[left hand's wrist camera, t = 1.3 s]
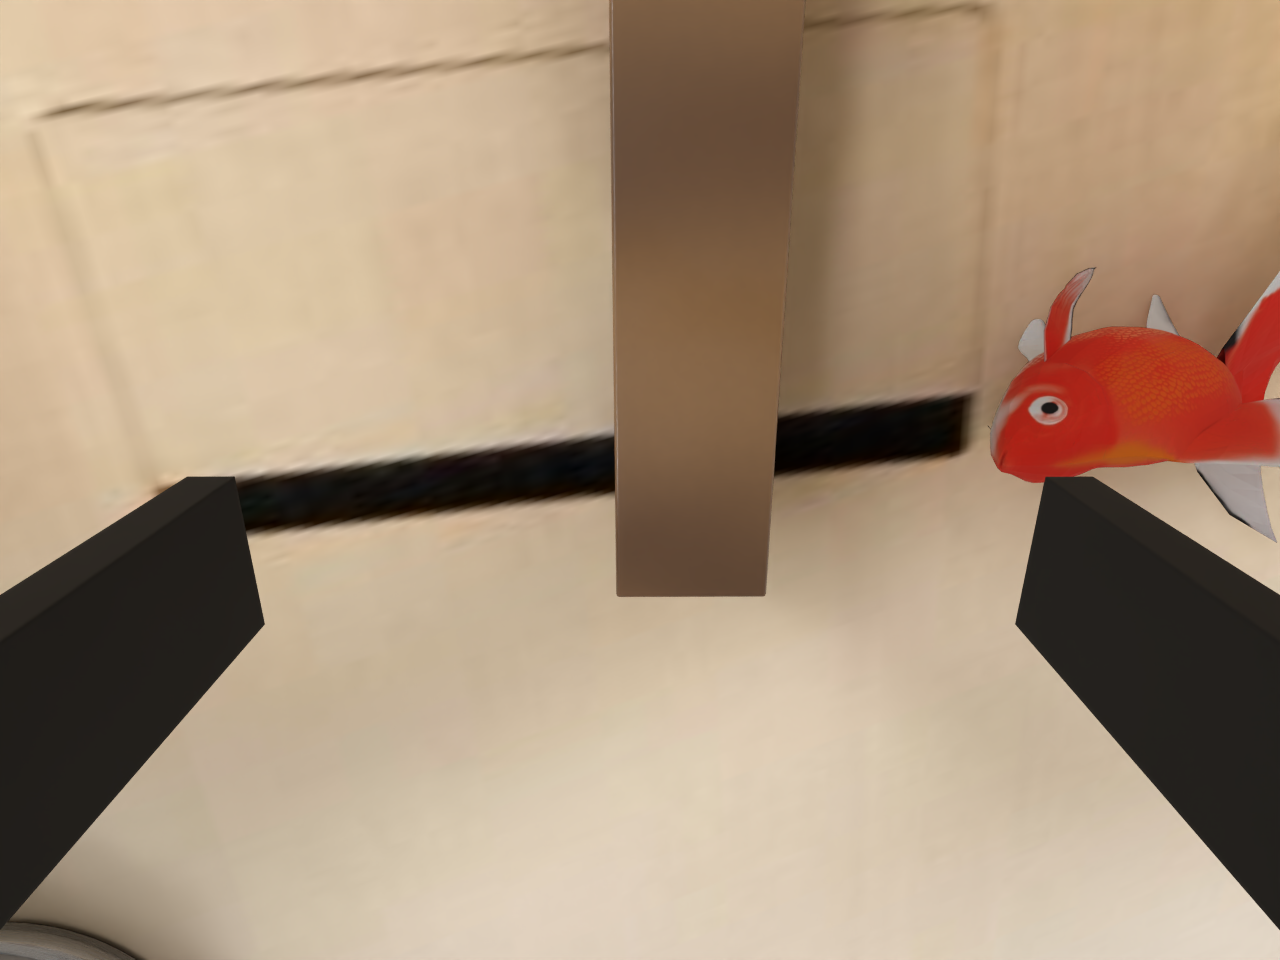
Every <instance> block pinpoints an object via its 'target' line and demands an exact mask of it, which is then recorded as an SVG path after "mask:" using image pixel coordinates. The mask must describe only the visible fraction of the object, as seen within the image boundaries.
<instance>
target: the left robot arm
mask: <svg viewBox="0 0 1280 960" xmlns="http://www.w3.org/2000/svg"><path fill="white" fill-rule="evenodd" d="M264 625H265V623H264V618H263V613H262V608H261V603H260V599H259V594H258V589H257V584H256V579H255V574H254V569H253V564H252V559H251V555H250V550H249V545H248V540H247V535H246V530H245V525H244V520H243V515H242V511H241V506H240V501H239V496H238V491H237V486H236V481H235V477H186V478H184V479H183V480H181V481H180V482H178V483H177V484H175V485H173V486H172V487H170V488H169V489H167V490H165V491H164V492H162V493H161V494H159V495H158V496H156V497H154V498H153V499H151V500H150V501H148V502H147V503H145V504H143V505H142V506H140V507H139V508H137V509H135V510H134V511H132V512H131V513H129V514H128V515H126V516H124V517H123V518H121V519H120V520H118V521H116V522H115V523H113V524H112V525H110V526H109V527H107V528H105V529H104V530H102V531H101V532H99V533H98V534H96V535H94V536H93V537H91V538H90V539H88V540H86V541H85V542H83V543H82V544H80V545H79V546H77V547H75V548H74V549H72V550H71V551H69V552H67V553H66V554H64V555H63V556H61V557H60V558H58V559H56V560H55V561H53V562H52V563H50V564H49V565H47V566H45V567H44V568H42V569H41V570H39V571H37V572H36V573H34V574H33V575H31V576H30V577H28V578H26V579H25V580H23V581H22V582H20V583H18V584H17V585H15V586H14V587H12V588H11V589H9V590H7V591H6V592H4V593H3V594H1V595H0V960H135V959H134V958H132V957H131V956H129V955H127V954H125V953H124V952H122V951H120V950H118V949H116V948H114V947H112V946H110V945H108V944H106V943H103V942H101V941H99V940H96V939H93V938H91V937H88V936H85V935H82V934H79V933H76V932H72V931H68V930H65V929H60V928H56V927H50V926H45V925H37V924H29V923H12V922H11V923H7V922H8V921H9V919H10V918H11V917H12V916H13V915H14V914H15V912H16V911H17V910H18V909H19V908H20V907H21V905H22V904H23V903H24V902H25V901H26V900H27V899H28V897H29V896H30V895H31V894H32V893H33V892H34V890H35V889H36V888H37V887H38V886H39V885H40V884H41V882H42V881H43V880H44V879H45V878H46V877H47V875H48V874H49V873H50V872H51V871H52V870H53V868H54V867H55V866H56V865H57V864H58V863H59V862H60V860H61V859H62V858H63V857H64V856H65V855H66V853H67V852H68V851H69V850H70V849H71V848H72V847H73V845H74V844H75V843H76V842H77V841H78V840H79V838H80V837H81V836H82V835H83V834H84V833H85V831H86V830H87V829H88V828H89V827H90V826H91V825H92V823H93V822H94V821H95V820H96V819H97V818H98V816H99V815H100V814H101V813H102V812H103V811H104V810H105V808H106V807H107V806H108V805H109V804H110V803H111V801H112V800H113V799H114V798H115V797H116V796H117V794H118V793H119V792H120V791H121V790H122V789H123V788H124V786H125V785H126V784H127V783H128V782H129V781H130V779H131V778H132V777H133V776H134V775H135V774H136V773H137V771H138V770H139V769H140V768H141V767H142V766H143V764H144V763H145V762H146V761H147V760H148V759H149V757H150V756H151V755H152V754H153V753H154V752H155V751H156V749H157V748H158V747H159V746H160V745H161V744H162V742H163V741H164V740H165V739H166V738H167V737H168V736H169V734H170V733H171V732H172V731H173V730H174V729H175V727H176V726H177V725H178V724H179V723H180V722H181V720H182V719H183V718H184V717H185V716H186V715H187V714H188V712H189V711H190V710H191V709H192V708H193V707H194V705H195V704H196V703H197V702H198V701H199V700H200V699H201V697H202V696H203V695H204V694H205V693H206V692H207V690H208V689H209V688H210V687H211V686H212V685H213V683H214V682H215V681H216V680H217V679H218V678H219V677H220V675H221V674H222V673H223V672H224V671H225V670H226V668H227V667H228V666H229V665H230V664H231V663H232V662H233V660H234V659H235V658H236V657H237V656H238V655H239V653H240V652H241V651H242V650H243V649H244V648H245V646H246V645H247V644H248V643H249V642H250V641H251V640H252V638H253V637H254V636H255V635H256V634H257V633H258V631H259V630H260V629H261V628H262V627H263V626H264ZM1015 625H1016V626H1017V627H1018V628H1019V629H1020V630H1021V631H1022V633H1023V634H1024V635H1025V636H1026V637H1027V638H1028V640H1029V641H1030V642H1031V643H1032V644H1033V645H1034V646H1035V648H1036V649H1037V650H1038V651H1039V652H1040V653H1041V655H1042V656H1043V657H1044V658H1045V659H1046V660H1047V662H1048V663H1049V664H1050V665H1051V666H1052V667H1053V668H1054V670H1055V671H1056V672H1057V673H1058V674H1059V675H1060V677H1061V678H1062V679H1063V680H1064V681H1065V682H1066V683H1067V685H1068V686H1069V687H1070V688H1071V689H1072V690H1073V692H1074V693H1075V694H1076V695H1077V696H1078V697H1079V699H1080V700H1081V701H1082V702H1083V703H1084V704H1085V705H1086V707H1087V708H1088V709H1089V710H1090V711H1091V712H1092V714H1093V715H1094V716H1095V717H1096V718H1097V719H1098V720H1099V722H1100V723H1101V724H1102V725H1103V726H1104V727H1105V729H1106V730H1107V731H1108V732H1109V733H1110V734H1111V736H1112V737H1113V738H1114V739H1115V740H1116V741H1117V742H1118V744H1119V745H1120V746H1121V747H1122V748H1123V749H1124V751H1125V752H1126V753H1127V754H1128V755H1129V756H1130V757H1131V759H1132V760H1133V761H1134V762H1135V763H1136V764H1137V766H1138V767H1139V768H1140V769H1141V770H1142V771H1143V773H1144V774H1145V775H1146V776H1147V777H1148V778H1149V779H1150V781H1151V782H1152V783H1153V784H1154V785H1155V786H1156V788H1157V789H1158V790H1159V791H1160V792H1161V793H1162V794H1163V796H1164V797H1165V798H1166V799H1167V800H1168V801H1169V803H1170V804H1171V805H1172V806H1173V807H1174V808H1175V810H1176V811H1177V812H1178V813H1179V814H1180V815H1181V816H1182V818H1183V819H1184V820H1185V821H1186V822H1187V823H1188V825H1189V826H1190V827H1191V828H1192V829H1193V830H1194V831H1195V833H1196V834H1197V835H1198V836H1199V837H1200V838H1201V840H1202V841H1203V842H1204V843H1205V844H1206V845H1207V847H1208V848H1209V849H1210V850H1211V851H1212V852H1213V853H1214V855H1215V856H1216V857H1217V858H1218V859H1219V860H1220V862H1221V863H1222V864H1223V865H1224V866H1225V867H1226V868H1227V870H1228V871H1229V872H1230V873H1231V874H1232V875H1233V877H1234V878H1235V879H1236V880H1237V881H1238V882H1239V884H1240V885H1241V886H1242V887H1243V888H1244V889H1245V890H1246V892H1247V893H1248V894H1249V895H1250V896H1251V897H1252V899H1253V900H1254V901H1255V902H1256V903H1257V904H1258V905H1259V907H1260V908H1261V909H1262V910H1263V911H1264V912H1265V914H1266V915H1267V916H1268V917H1269V918H1270V919H1271V921H1272V922H1273V923H1274V924H1275V925H1276V926H1277V927H1278V929H1279V930H1280V595H1279V594H1277V593H1276V592H1274V591H1273V590H1271V589H1269V588H1268V587H1266V586H1265V585H1263V584H1262V583H1260V582H1258V581H1257V580H1255V579H1254V578H1252V577H1250V576H1249V575H1247V574H1246V573H1244V572H1243V571H1241V570H1239V569H1238V568H1236V567H1235V566H1233V565H1231V564H1230V563H1228V562H1227V561H1225V560H1224V559H1222V558H1220V557H1219V556H1217V555H1216V554H1214V553H1213V552H1211V551H1209V550H1208V549H1206V548H1205V547H1203V546H1201V545H1200V544H1198V543H1197V542H1195V541H1194V540H1192V539H1190V538H1189V537H1187V536H1186V535H1184V534H1182V533H1181V532H1179V531H1178V530H1176V529H1175V528H1173V527H1171V526H1170V525H1168V524H1167V523H1165V522H1164V521H1162V520H1160V519H1159V518H1157V517H1156V516H1154V515H1152V514H1151V513H1149V512H1148V511H1146V510H1145V509H1143V508H1141V507H1140V506H1138V505H1137V504H1135V503H1133V502H1132V501H1130V500H1129V499H1127V498H1126V497H1124V496H1122V495H1121V494H1119V493H1118V492H1116V491H1115V490H1113V489H1111V488H1110V487H1108V486H1107V485H1105V484H1103V483H1102V482H1100V481H1099V480H1097V479H1096V478H1094V477H1045V481H1044V486H1043V491H1042V496H1041V501H1040V506H1039V511H1038V515H1037V520H1036V525H1035V530H1034V535H1033V540H1032V545H1031V550H1030V555H1029V559H1028V564H1027V569H1026V574H1025V579H1024V584H1023V589H1022V594H1021V599H1020V603H1019V608H1018V613H1017V618H1016V623H1015Z"/></svg>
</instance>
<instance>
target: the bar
mask: <svg viewBox="0 0 1280 960" xmlns="http://www.w3.org/2000/svg"><path fill="white" fill-rule="evenodd" d="M804 15H805V0H609V30H610V111H611V193H612V275H613V357H614V438H615V520H616V594H617V596H619V597H715V596H765V594H766V583H767V568H768V553H769V538H770V523H771V508H772V494H773V479H774V464H775V449H776V434H777V419H778V404H779V389H780V374H781V359H782V344H783V329H784V314H785V299H786V284H787V269H788V254H789V240H790V225H791V210H792V195H793V180H794V165H795V150H796V135H797V120H798V105H799V90H800V75H801V60H802V45H803V30H804Z"/></svg>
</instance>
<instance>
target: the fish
mask: <svg viewBox="0 0 1280 960" xmlns="http://www.w3.org/2000/svg"><path fill="white" fill-rule="evenodd" d="M1095 268H1097V267H1094V268H1088V269H1086V270H1084V271H1082V272H1079V273H1077V274H1076V275H1075V276H1074V277H1073V278H1072V279H1071V281H1070V282H1069V283H1068V284H1067V285H1066V287H1065V289H1064V290H1063V291H1062V292H1061V293H1060V294H1059V295H1058V296H1057V298H1056V299H1055V301H1054V303H1053V304H1052V306H1051V308H1050V311H1049V315H1048V318H1047V322H1046V325H1045V323H1044V321H1043V320H1041V319H1034V320H1032V321H1031V322H1030V324H1029V325H1028V326H1027V328H1026V330H1025V332H1024V334H1023V335H1022V337H1021V339H1020V341H1019V345H1018V348H1019V351H1020V352H1021V353H1022V354H1023V355H1024V356H1025V357H1027V359H1028V361H1029V362H1028V363H1027V364H1026V365H1025V366H1024V367H1023V368H1022V369H1021V370H1020V372H1019V373H1018V374H1017V376H1016V377H1015V378H1014V379H1013V380H1012V382H1011V384H1010V385H1009V387H1008V389H1007V391H1006V392H1005V394H1004V396H1003V398H1002V400H1001V403H1000V405H999V407H998V409H997V412H996V414H995V417H994V420H993V422H992V427H991V432H990V450H991V456H992V458H993V460H994V462H995V464H996V466H997V468H998V469H999V470H1000V471H1001V472H1004V473H1009V474H1012V475H1014V476H1016V477H1018V478H1020V479H1022V480H1024V481H1027V482H1031V483H1041V482H1044V481H1045V477H1074V476H1077V475H1079V474H1082V473H1085V472H1087V471H1089V470H1091V469H1094V468H1099V467H1130V466H1140V465H1149V464H1154V463H1158V462H1163V461H1173V462H1182V463H1195V466H1196V469H1197V472H1198V473H1199V475H1200V476H1201V477H1202V479H1203V480H1204V481H1205V483H1206V484H1207V485H1208V487H1209V488H1210V489H1211V491H1212V492H1213V493H1214V495H1215V496H1216V497H1217V499H1218V500H1219V501H1220V503H1221V504H1222V505H1223V507H1224V508H1225V509H1226V511H1227V512H1228V513H1229V515H1231V516H1233V517H1234V518H1236V519H1238V520H1239V521H1241V522H1243V523H1244V524H1246V525H1248V526H1250V527H1251V528H1253V529H1255V530H1256V531H1258V532H1260V533H1261V534H1263V535H1265V536H1266V537H1268V538H1270V539H1271V540H1273V541H1275V542H1276V543H1277V541H1276V538H1275V536H1274V533H1273V530H1272V528H1271V524H1270V520H1269V516H1268V512H1267V507H1266V502H1265V497H1264V492H1263V484H1262V477H1261V467H1260V466H1271V467H1280V398H1275V399H1267V400H1264V394H1265V390H1266V388H1267V385H1268V382H1269V379H1270V377H1271V374H1272V373H1273V371H1274V369H1275V368H1276V366H1277V364H1278V363H1279V362H1280V272H1279V273H1278V274H1277V276H1276V277H1275V278H1274V280H1273V281H1272V282H1271V284H1270V285H1269V286H1268V288H1267V289H1266V290H1265V292H1264V293H1263V295H1262V296H1261V297H1260V299H1259V300H1258V301H1257V303H1256V304H1255V305H1254V307H1253V308H1252V309H1251V311H1250V312H1249V313H1248V315H1247V316H1246V318H1245V319H1244V320H1243V321H1242V323H1241V324H1240V325H1239V327H1238V328H1237V329H1236V331H1235V332H1234V334H1233V335H1232V336H1231V338H1230V339H1229V340H1228V342H1227V343H1226V344H1225V346H1224V347H1223V348H1222V350H1221V352H1220V353H1219V355H1218V357H1217V358H1216V357H1215V356H1213V355H1212V354H1211V353H1209V352H1208V351H1207V350H1206V349H1204V348H1203V347H1201V346H1200V345H1198V344H1196V343H1194V342H1192V341H1190V340H1188V339H1185V338H1183V337H1180V336H1179V334H1178V332H1177V331H1176V329H1175V327H1174V325H1173V324H1172V322H1171V320H1170V318H1169V316H1168V314H1167V312H1166V310H1165V308H1164V305H1163V303H1162V301H1161V299H1160V297H1159V296H1158V295H1153V297H1152V301H1151V306H1150V310H1149V314H1148V318H1147V328H1143V327H1106V328H1101V329H1097V330H1094V331H1090V332H1086V333H1083V334H1079V335H1075V336H1073V337H1071V332H1072V318H1073V309H1074V307H1075V305H1076V302H1077V300H1078V299H1079V297H1080V296H1081V294H1082V292H1083V291H1084V289H1085V288H1086V286H1087V285H1088V283H1089V281H1090V279H1091V278H1092V275H1093V272H1094V269H1095ZM987 426H988V425H987ZM988 427H989V426H988ZM989 428H990V427H989Z"/></svg>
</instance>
